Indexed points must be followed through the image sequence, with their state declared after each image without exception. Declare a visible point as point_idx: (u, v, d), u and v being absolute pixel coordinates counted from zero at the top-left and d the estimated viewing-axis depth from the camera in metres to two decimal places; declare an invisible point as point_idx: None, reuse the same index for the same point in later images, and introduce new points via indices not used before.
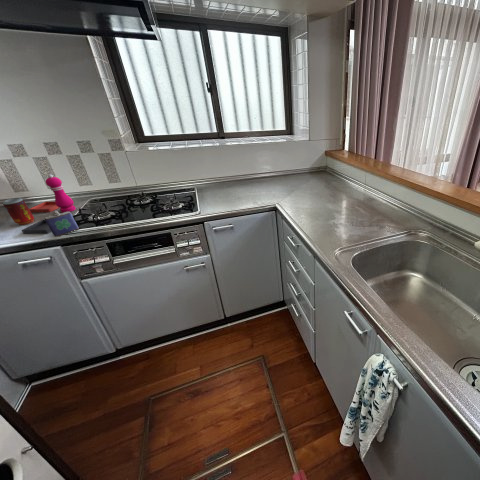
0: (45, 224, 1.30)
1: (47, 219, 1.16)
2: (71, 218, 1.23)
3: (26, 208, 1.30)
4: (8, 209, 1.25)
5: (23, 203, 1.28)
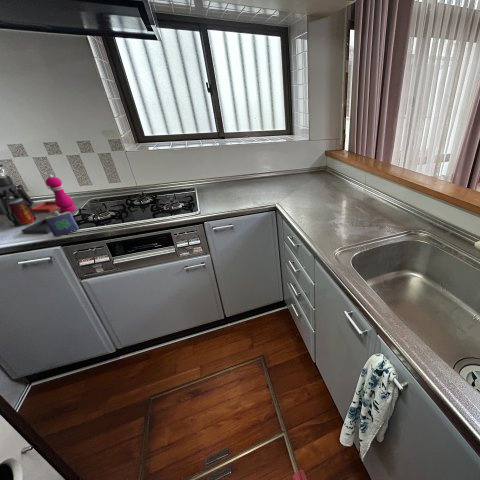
0: (45, 224, 1.30)
1: (47, 219, 1.16)
2: (71, 218, 1.23)
3: (26, 208, 1.30)
4: None
5: (23, 203, 1.28)
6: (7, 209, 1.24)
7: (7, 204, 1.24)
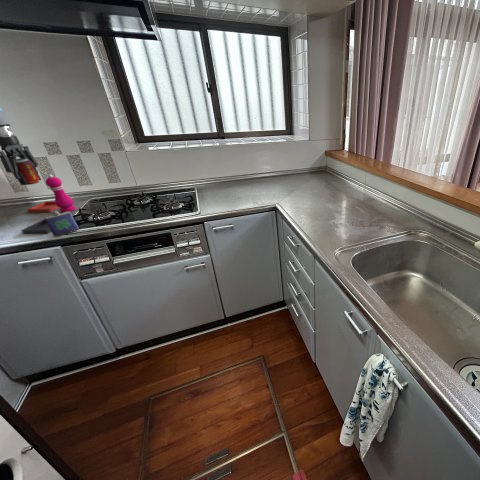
0: (45, 224, 1.30)
1: (47, 219, 1.16)
2: (71, 218, 1.23)
3: (32, 168, 1.37)
4: None
5: (29, 163, 1.36)
6: (14, 167, 1.31)
7: (14, 162, 1.31)
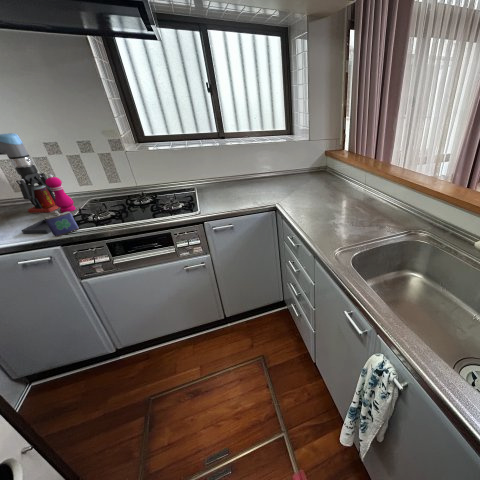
0: (45, 224, 1.30)
1: (47, 219, 1.16)
2: (71, 218, 1.23)
3: (48, 194, 1.45)
4: None
5: (46, 189, 1.44)
6: (31, 194, 1.39)
7: (31, 190, 1.39)
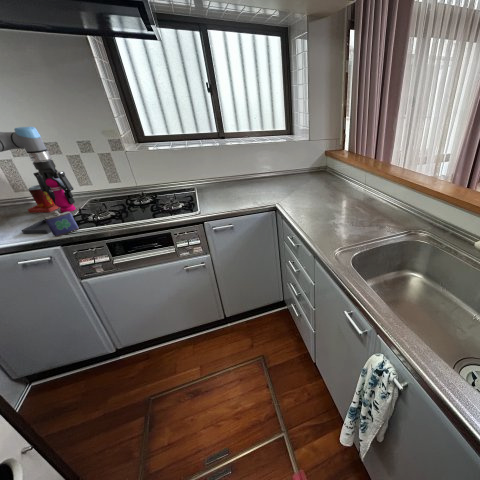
0: (45, 224, 1.30)
1: (47, 219, 1.16)
2: (71, 218, 1.23)
3: None
4: (33, 194, 1.41)
5: None
6: None
7: (45, 184, 1.37)
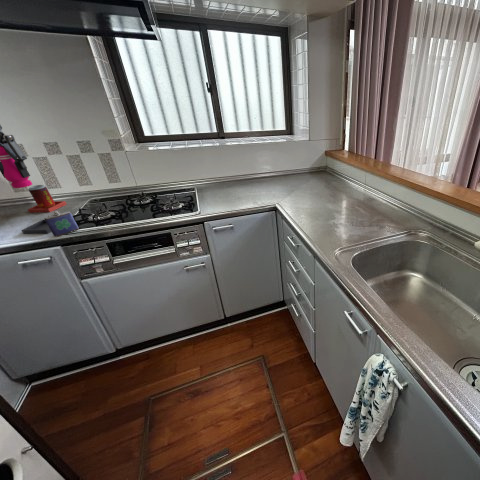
0: (45, 224, 1.30)
1: (47, 219, 1.16)
2: (71, 218, 1.23)
3: (48, 194, 1.45)
4: (33, 194, 1.41)
5: (46, 189, 1.44)
6: None
7: None
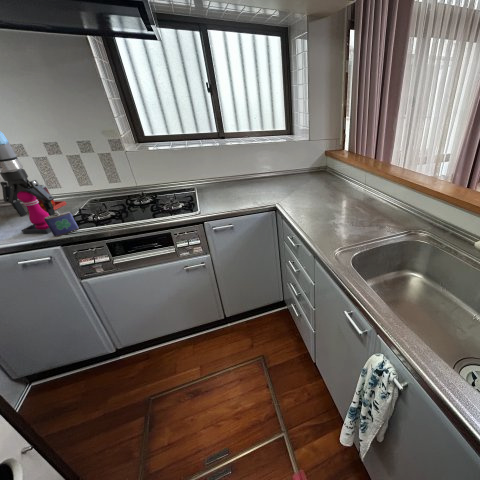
0: None
1: (47, 219, 1.16)
2: (71, 218, 1.23)
3: None
4: None
5: (46, 189, 1.44)
6: None
7: (11, 195, 1.18)
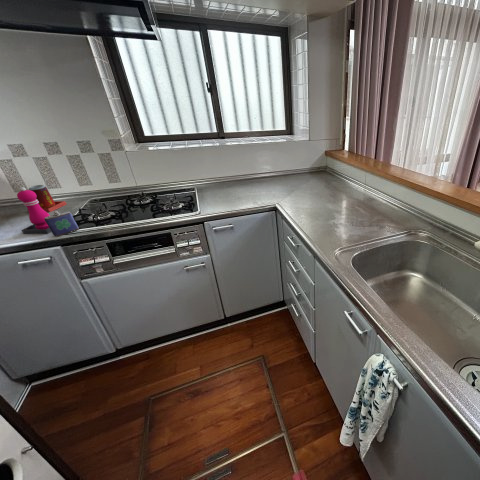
0: None
1: (47, 219, 1.16)
2: (71, 218, 1.23)
3: (48, 194, 1.45)
4: None
5: (46, 189, 1.44)
6: None
7: None
